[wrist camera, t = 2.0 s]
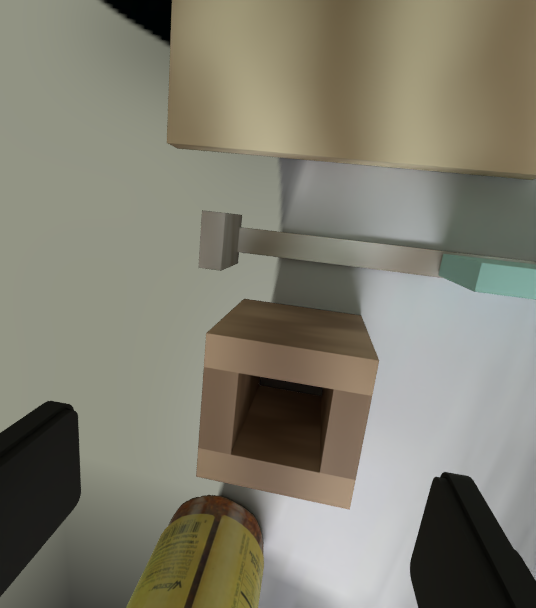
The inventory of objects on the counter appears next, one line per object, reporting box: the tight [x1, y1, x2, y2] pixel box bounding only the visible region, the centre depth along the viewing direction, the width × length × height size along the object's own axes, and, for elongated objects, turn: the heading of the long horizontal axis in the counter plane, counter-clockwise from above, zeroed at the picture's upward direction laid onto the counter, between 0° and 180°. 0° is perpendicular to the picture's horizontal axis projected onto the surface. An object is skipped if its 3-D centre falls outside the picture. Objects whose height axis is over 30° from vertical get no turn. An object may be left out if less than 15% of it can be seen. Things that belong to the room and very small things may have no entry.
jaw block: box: [196, 299, 379, 509], centre depth 16 cm, size 6×6×6 cm
